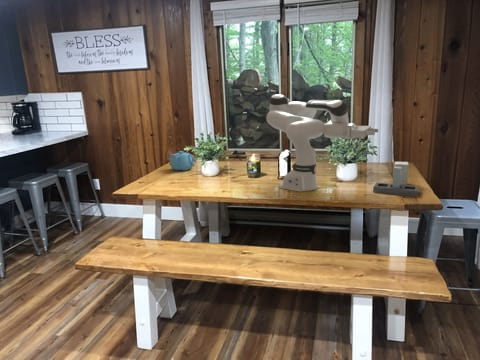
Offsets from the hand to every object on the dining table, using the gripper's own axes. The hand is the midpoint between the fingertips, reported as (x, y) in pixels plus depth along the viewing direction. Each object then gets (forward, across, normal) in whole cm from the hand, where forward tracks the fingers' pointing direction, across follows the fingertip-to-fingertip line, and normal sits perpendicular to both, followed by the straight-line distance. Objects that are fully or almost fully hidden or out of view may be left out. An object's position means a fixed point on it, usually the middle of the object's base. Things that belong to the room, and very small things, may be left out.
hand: (376, 131), depth 210 cm
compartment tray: (+12, +2, -32) cm, 34 cm away
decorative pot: (-134, +1, -32) cm, 138 cm away
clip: (+12, +2, -31) cm, 34 cm away
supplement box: (+12, -14, -32) cm, 37 cm away
